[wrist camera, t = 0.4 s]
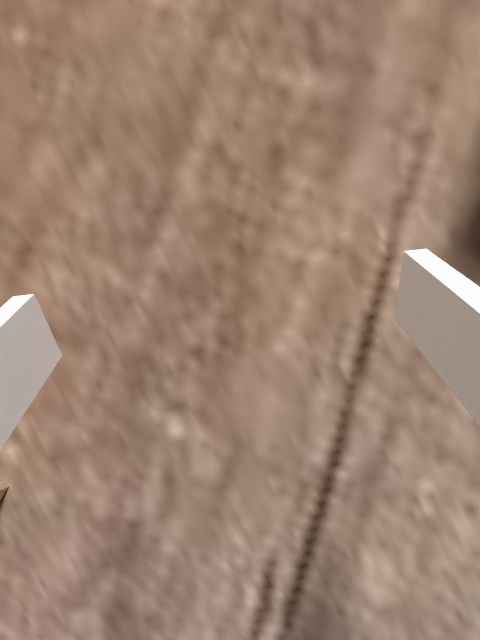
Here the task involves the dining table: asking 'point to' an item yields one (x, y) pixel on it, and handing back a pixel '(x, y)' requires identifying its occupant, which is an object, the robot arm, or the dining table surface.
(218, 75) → the dining table surface
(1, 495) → the shelf stand
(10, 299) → the robot arm
